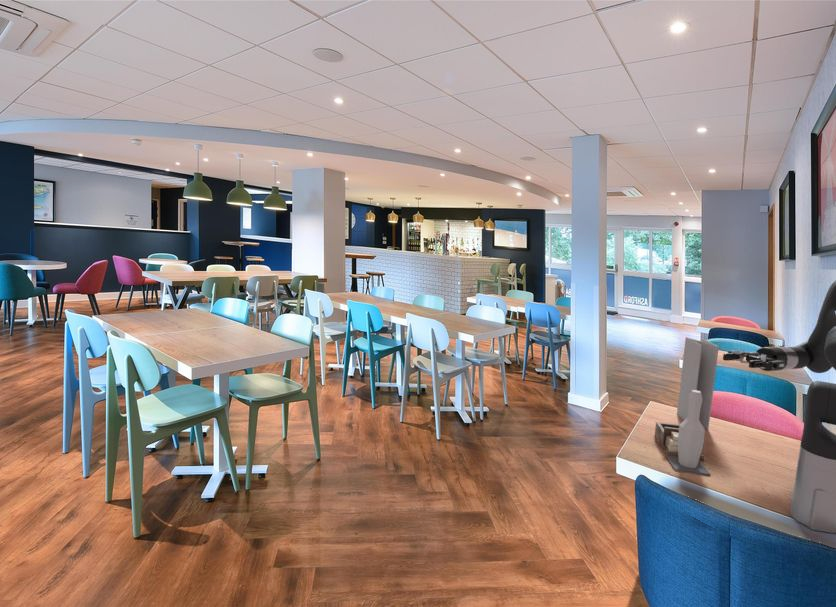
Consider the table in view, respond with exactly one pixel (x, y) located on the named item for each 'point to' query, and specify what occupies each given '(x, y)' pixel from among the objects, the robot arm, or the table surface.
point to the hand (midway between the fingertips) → (736, 360)
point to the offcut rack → (669, 438)
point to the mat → (678, 467)
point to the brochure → (698, 377)
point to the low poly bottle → (691, 433)
